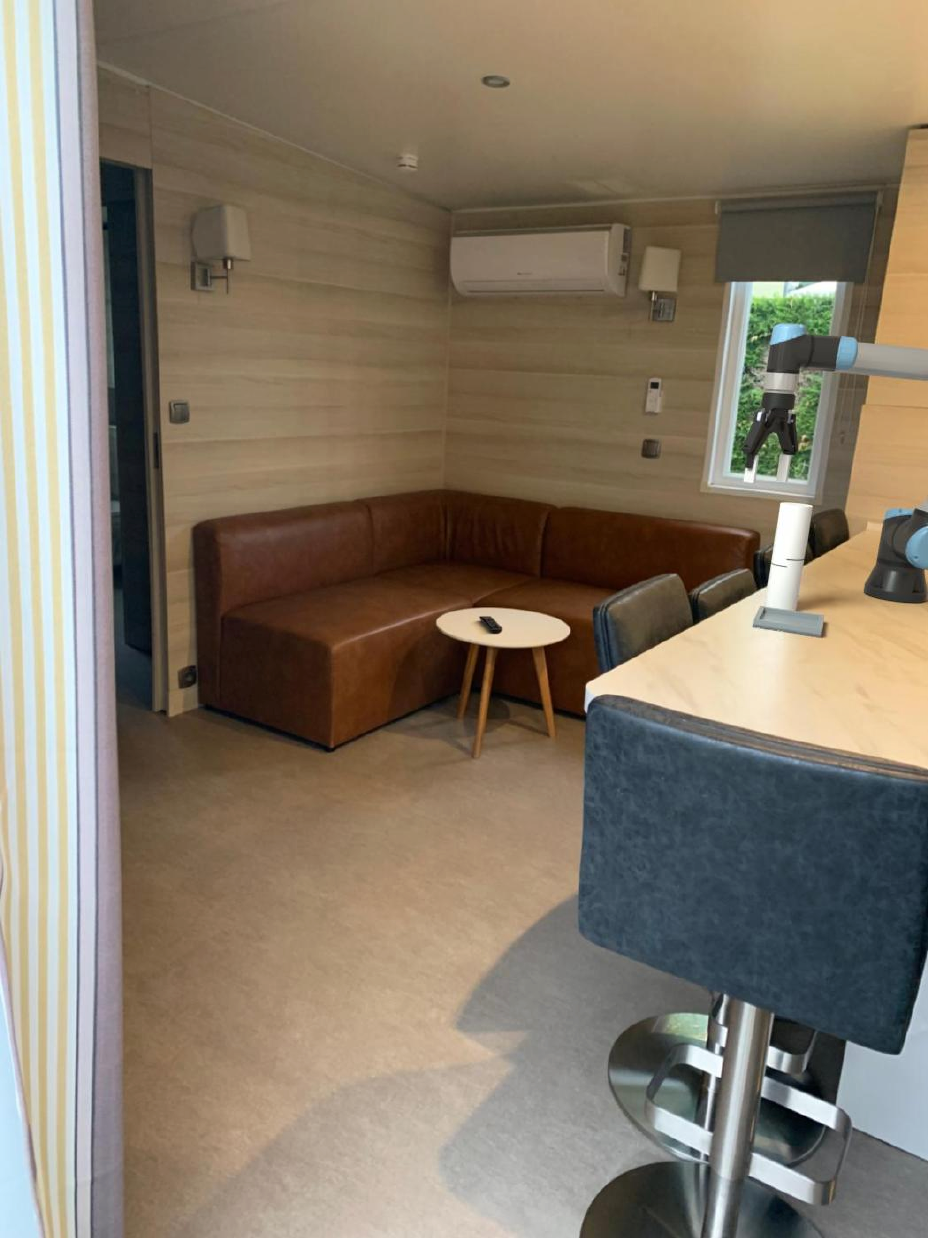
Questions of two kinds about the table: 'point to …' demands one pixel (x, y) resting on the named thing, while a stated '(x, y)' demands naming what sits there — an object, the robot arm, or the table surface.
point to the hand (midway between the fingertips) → (765, 481)
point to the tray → (789, 621)
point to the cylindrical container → (788, 555)
